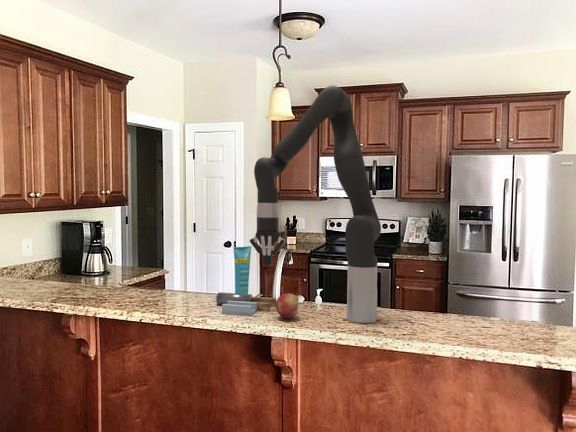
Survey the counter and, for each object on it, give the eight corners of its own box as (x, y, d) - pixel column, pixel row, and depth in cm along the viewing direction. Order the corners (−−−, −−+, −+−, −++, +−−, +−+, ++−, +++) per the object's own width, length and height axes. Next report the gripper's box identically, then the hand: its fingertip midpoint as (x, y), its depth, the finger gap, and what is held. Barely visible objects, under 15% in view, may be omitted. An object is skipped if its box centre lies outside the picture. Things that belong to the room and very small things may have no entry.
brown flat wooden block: (276, 305, 167) (276, 298, 167) (269, 311, 158) (269, 303, 158) (244, 303, 170) (244, 296, 170) (235, 308, 161) (235, 301, 161)
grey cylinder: (252, 306, 167) (252, 293, 167) (248, 308, 162) (248, 295, 163) (220, 304, 170) (221, 291, 170) (215, 305, 165) (216, 292, 166)
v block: (256, 311, 158) (257, 302, 158) (251, 316, 152) (251, 306, 152) (228, 309, 160) (228, 300, 160) (221, 313, 154) (221, 304, 154)
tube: (236, 297, 179) (236, 247, 178) (230, 295, 183) (230, 246, 182) (253, 295, 183) (253, 246, 183) (247, 293, 187) (247, 245, 187)
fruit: (291, 323, 144) (291, 297, 144) (270, 319, 148) (270, 294, 148) (303, 317, 151) (304, 292, 150) (283, 314, 155) (283, 290, 154)
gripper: (288, 216, 164) (288, 265, 165) (252, 215, 167) (252, 264, 168) (283, 216, 157) (283, 268, 157) (246, 216, 160) (246, 267, 160)
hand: (267, 266), depth 163 cm, fingers closed
